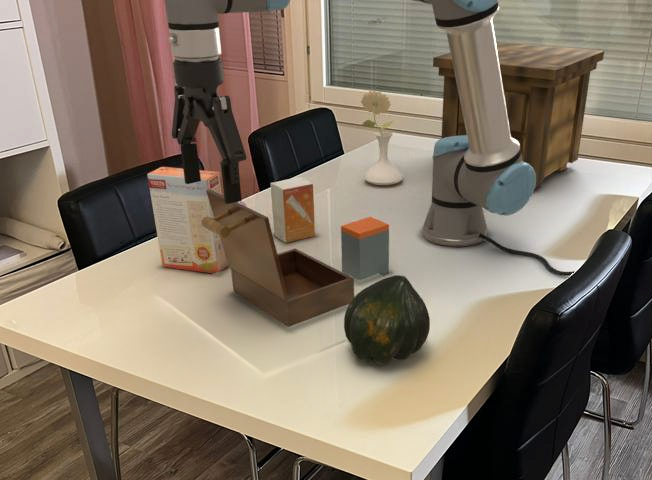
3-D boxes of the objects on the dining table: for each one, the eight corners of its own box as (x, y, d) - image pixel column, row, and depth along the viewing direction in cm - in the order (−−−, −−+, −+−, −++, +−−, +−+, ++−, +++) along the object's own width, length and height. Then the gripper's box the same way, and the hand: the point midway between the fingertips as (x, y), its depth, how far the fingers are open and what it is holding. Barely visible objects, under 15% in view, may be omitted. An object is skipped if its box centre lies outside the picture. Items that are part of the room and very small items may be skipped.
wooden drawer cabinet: (586, 166, 219) (604, 51, 202) (540, 198, 195) (556, 70, 178) (483, 149, 237) (491, 41, 220) (428, 176, 212) (433, 57, 195)
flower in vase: (410, 180, 209) (412, 90, 196) (390, 191, 201) (391, 97, 188) (372, 173, 215) (372, 85, 202) (351, 183, 207) (349, 92, 194)
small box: (286, 243, 169) (282, 189, 162) (273, 235, 173) (269, 182, 166) (316, 236, 172) (313, 183, 166) (303, 228, 177) (300, 176, 170)
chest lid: (209, 188, 133) (179, 202, 130) (268, 217, 120) (236, 232, 117) (232, 265, 143) (205, 279, 140) (288, 299, 130) (260, 314, 127)
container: (370, 264, 158) (370, 216, 153) (388, 273, 154) (389, 224, 149) (342, 274, 154) (340, 225, 148) (360, 283, 150) (359, 233, 144)
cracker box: (231, 264, 159) (221, 170, 148) (218, 275, 154) (206, 179, 143) (176, 256, 163) (162, 164, 152) (161, 267, 158) (145, 172, 147)
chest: (296, 273, 155) (295, 248, 152) (354, 305, 142) (354, 278, 139) (233, 294, 146) (230, 268, 143) (289, 330, 133) (287, 302, 130)
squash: (315, 332, 121) (370, 281, 112) (352, 298, 133) (405, 249, 124) (372, 394, 122) (431, 348, 113) (404, 355, 134) (460, 310, 125)
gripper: (139, 50, 118) (158, 178, 129) (216, 71, 101) (231, 216, 112) (180, 46, 122) (196, 170, 133) (261, 65, 105) (271, 205, 116)
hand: (212, 191), depth 123 cm, fingers open, 13 cm apart
